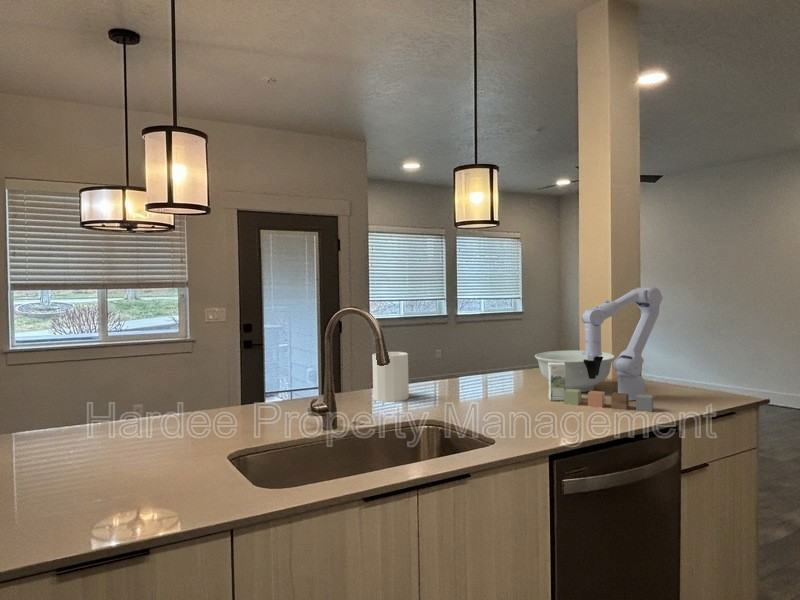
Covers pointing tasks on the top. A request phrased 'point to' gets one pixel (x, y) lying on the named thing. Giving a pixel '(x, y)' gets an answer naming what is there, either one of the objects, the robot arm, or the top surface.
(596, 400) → the terracotta block
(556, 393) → the syrup box
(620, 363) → the robot arm
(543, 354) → the bowl
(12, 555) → the top surface
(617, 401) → the walnut block
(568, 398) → the olive block
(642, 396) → the slate block
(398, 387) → the container
